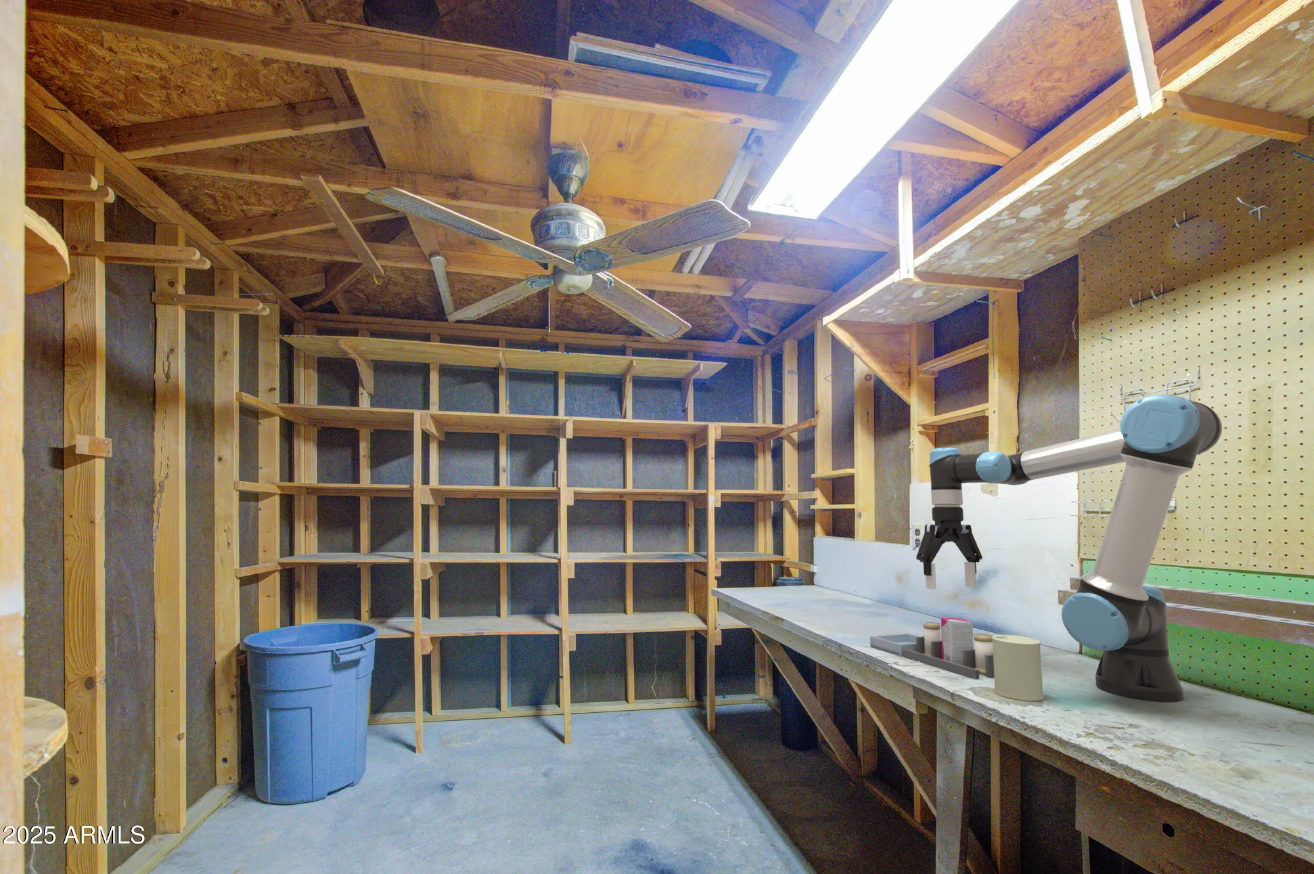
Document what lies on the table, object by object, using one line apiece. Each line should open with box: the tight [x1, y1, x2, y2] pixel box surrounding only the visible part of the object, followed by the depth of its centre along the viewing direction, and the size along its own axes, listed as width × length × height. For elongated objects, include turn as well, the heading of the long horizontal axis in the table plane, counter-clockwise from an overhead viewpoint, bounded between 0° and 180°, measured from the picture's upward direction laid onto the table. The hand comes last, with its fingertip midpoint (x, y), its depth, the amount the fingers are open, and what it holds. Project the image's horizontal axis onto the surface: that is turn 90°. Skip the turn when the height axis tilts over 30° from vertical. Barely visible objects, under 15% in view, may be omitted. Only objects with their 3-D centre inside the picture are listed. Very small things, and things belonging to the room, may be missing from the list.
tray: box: [869, 632, 921, 658], centre depth 171 cm, size 12×14×3 cm
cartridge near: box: [973, 632, 993, 676], centre depth 147 cm, size 4×4×9 cm
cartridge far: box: [922, 621, 941, 656], centre depth 162 cm, size 4×4×9 cm
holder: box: [903, 635, 994, 680], centre depth 154 cm, size 22×14×5 cm, turn 22°
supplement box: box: [940, 617, 974, 665], centre depth 155 cm, size 6×6×12 cm
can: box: [992, 634, 1045, 702], centre depth 130 cm, size 9×9×12 cm
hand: (951, 588), depth 158 cm, fingers open, 13 cm apart
